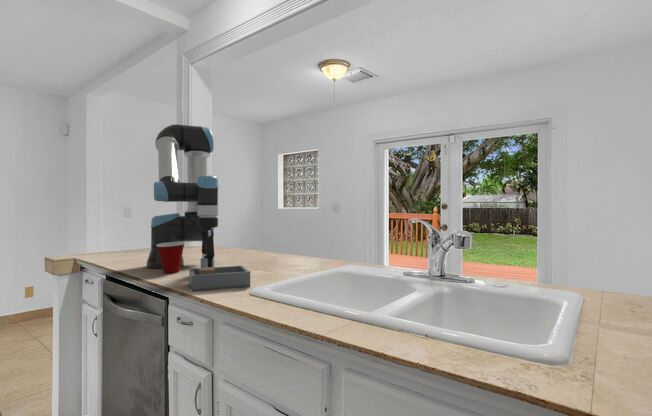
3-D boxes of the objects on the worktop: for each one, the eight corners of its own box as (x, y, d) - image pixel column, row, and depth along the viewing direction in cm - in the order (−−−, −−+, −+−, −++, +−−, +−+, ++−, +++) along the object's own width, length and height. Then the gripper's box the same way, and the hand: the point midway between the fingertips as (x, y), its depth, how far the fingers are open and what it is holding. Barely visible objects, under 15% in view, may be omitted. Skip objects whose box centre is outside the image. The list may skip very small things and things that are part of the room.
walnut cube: (197, 283, 122) (197, 268, 122) (213, 281, 124) (213, 267, 124) (199, 285, 118) (199, 270, 118) (215, 284, 120) (215, 269, 120)
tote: (189, 283, 125) (189, 268, 125) (242, 279, 133) (242, 265, 133) (192, 291, 113) (192, 275, 113) (250, 286, 120) (250, 271, 120)
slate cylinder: (199, 276, 139) (199, 257, 139) (213, 275, 141) (213, 257, 141) (201, 278, 134) (201, 259, 134) (215, 277, 136) (215, 258, 136)
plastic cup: (151, 272, 147) (151, 242, 147) (177, 269, 155) (177, 240, 155) (163, 275, 139) (163, 244, 139) (190, 272, 148) (190, 242, 148)
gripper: (194, 216, 147) (194, 269, 147) (200, 217, 124) (200, 279, 124) (213, 216, 150) (213, 268, 150) (222, 217, 128) (222, 278, 127)
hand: (207, 273), depth 137 cm, fingers open, 13 cm apart
